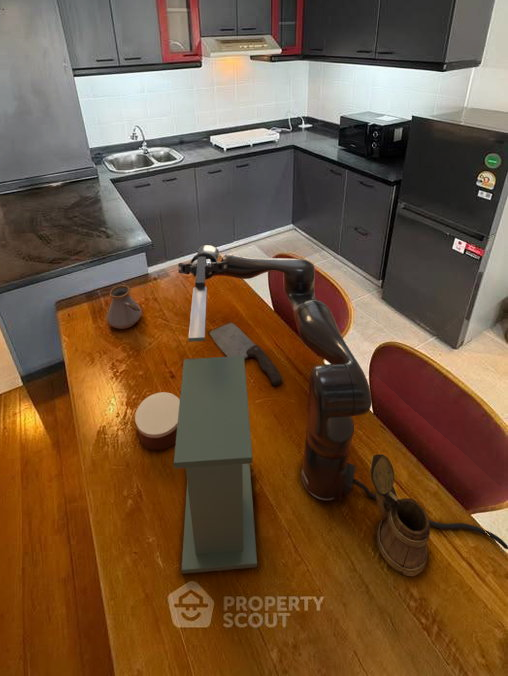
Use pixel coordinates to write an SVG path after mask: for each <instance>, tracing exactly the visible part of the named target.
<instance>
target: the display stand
mask: <svg viewBox="0 0 508 676" xmlns="http://www.w3.org/2000/svg"><path fill="white" fill-rule="evenodd" d="M245 360H246V359H245ZM245 360H244V356H234V357H227V356H218V357H217V356H216V357H199V358H184V359H183V365H182V375H181V384H180V393H179V394H180V395H179V400H180V404H179V414H178V424H177V434H176V443H174V444H175V446H174V457H173V468H174V469H175V470H177V469H178V470H179V469H185V475H186V476H185V477H186V493H185V495H186V497H185V508H184V509H185V512H184V523H183V524H184V525H183V526H184V527H183V541H182V555H181V556H182V557H181V574H182V575H185V574H194V573H195V574H196V573H207V572H216V571H217V572H218V571H231V570H240V569H242V570H243V569H251V568H252V569H253V568H258V557H257V543H256V530H255V516H254V503H253V501H254V500H253V490H252V476H251V464H253V446H252V445H253V444H252V435H251V423H250V411H249V397H248V386H247V384H248V383H247V374H246V373H247V371H246V362H245Z"/></svg>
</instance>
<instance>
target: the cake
mask: <svg viewBox="0 0 508 676" xmlns="http://www.w3.org/2000/svg"><path fill="white" fill-rule="evenodd" d="M179 404H180V397H178V396H177V395H175V394H173V393H171V392H168V391H167V392H166V391H161V392H155V393H153V394H150V395H148V396H147V397H146V398H144V399H143V400H142V401H141V402H140V404H139V405H138V407H137V408H136V411H135V414H134V415H135V416H134V421H135V425H136V428H137V432H138V437H139V440H140V443H141V444H142V445H143V446H144V447H145V448H146V449H149V450H151V451H162V450H166V449H169V448H170V447H172V446H173V445H174V444H176V434H177V424H178V414H179Z"/></svg>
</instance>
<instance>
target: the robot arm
mask: <svg viewBox="0 0 508 676" xmlns="http://www.w3.org/2000/svg"><path fill="white" fill-rule="evenodd" d="M219 256H220V251H219V249H218V248H217V247H216V246H214V245H210V244H205V245H202V246H201V245H200V247H199V248H198V249H197V254H195V255H194V256H193V257H192V258H191V260H190V262H189V263H186V262H185V263H182V262H179V263H178V264H177V265H178V267H177V269H178V271H177V272H178V273H179V274H184V275H190V274H192V276H193V277H195V278H196V269H197V258H198V257H206V265H205V274H206V280H210V279H211V278H214V277H228V278H229V277H230V278H234V279H239V280H250V279H253V278H256V277H259V276H261V275H263V274H265V273H269V272H279V273H282V276H283V277H282V278H283V291H284V294H285V296H286V298H287V300H288V302H289V304H290V306H291V308H292V312H293V317H294V322H295V326H296V329H297V332H298V334H299V338H300V339H301V341H302V343H303V344H305V346H306V347H307V348H308V349H309V350H310V351H312V352H313V353H315V354H316V355H317V356H319V357H321V358H322V359H324V360H325V361H326V362H328V364H315V365H313V367H312V368H311V369H310V373H309V378H308V380H309V381H308V403H307V404H308V405H307V422H306V423H307V424H306V433H305V441H304V451H303V460H302V467H301V482H302V485H303V487H304V489H305V490H306V492H307V493H308V494H309V495H310V496H311V497H313V498H315V500H317V501H320V502H333V501H338V502H340V501H341V500H342V495H343V494H345V495H348V496H351V493H352V488H353V484H354V486H355V485H356V486H357V487H359V488H360V489H361V490H363V491H364V493H365V494H366V495H367V496H368V497H369V498H371V499H372V500H374V501H376V502H377V500H376V494H375V493H373V492H371V491H370V489H369V488H368V487H367V486H366V485H365V484H363V483H362V482H360V481H359V480H357V479H356V478H354V477H355V472H356V465H354V464H352V463H350V462H349V459H350V455H351V454H350V453H351V447H352V442H353V438H354V434H355V433H354V432H355V424H354V423H355V422H354V420H353V417H358V416H363V415H366V414H367V413H368V412H369V411H370V409H371V407H372V392H371V388H370V385H369V381H368V379H367V377H366V374H365V372H364V371H363V369H362V367H361V365H360V364H359V362H358V361H357V359H356V357H355V356H354V354H353V353H352V351H351V349H350V348H349V346H348V345H347V343H346V341H345V339H344V337H343V335H342V333H341V331H340V329H339V326H338V324H337V322H336V319H335V317H334V316H333V313H332V311H331V310H330V308H329V307H328V305H326V303H325V302H323V301H321V300H319V299H317V297H316V293H315V290H316V288H315V287H316V283H315V280H316V279H315V278H316V277H315V276H316V269H315V265H314V263H312V262H311V261H310V260H306V259H302V258H287V257H286V258H284V257H281V258H280V257H250V256H249V257H248V256H242V255H236V254H231V253H227V254H225V255H224V256H223V257H222V258H221V260H220V261H219ZM384 502H385V504H386V506H388V505H387V503H386V501H384ZM429 523H430V527H433V528H436V529H441V530H468V531H472V532H475V533H479V534H481V535H484V536H487V537H489V536H488V535H487V533H488V534H489V535H490V537H491V539H492V540H494V541H495V542H497V543H498V544H499V545H501V546H502V548H503V549H505V550H508V545H507V543H506V542H505V541H504V540H503V539H502V538H501V537H500V536H498V535H496V534H494V532H491V531H489V530H487V529H484V528H483V527H482V528H481V527H479V526H475V525H472V524H469V523H463V522H455V523H441V522H436V521H433V520H430V519H429ZM483 529H484V530H485V531H486V532H487V533H485V531H484V530H483ZM490 537H489V538H490Z"/></svg>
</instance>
